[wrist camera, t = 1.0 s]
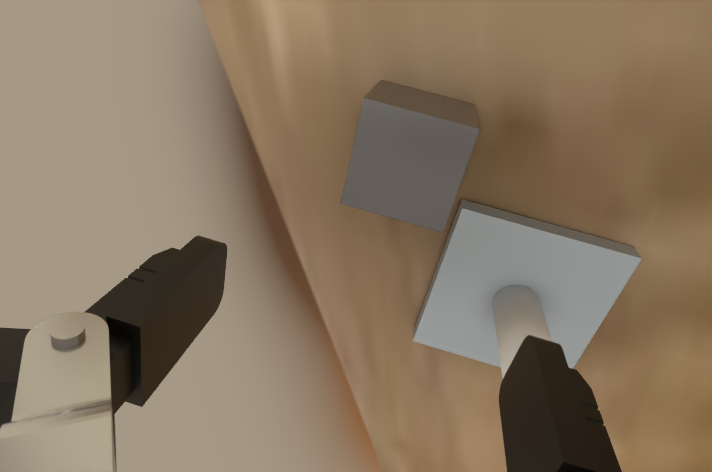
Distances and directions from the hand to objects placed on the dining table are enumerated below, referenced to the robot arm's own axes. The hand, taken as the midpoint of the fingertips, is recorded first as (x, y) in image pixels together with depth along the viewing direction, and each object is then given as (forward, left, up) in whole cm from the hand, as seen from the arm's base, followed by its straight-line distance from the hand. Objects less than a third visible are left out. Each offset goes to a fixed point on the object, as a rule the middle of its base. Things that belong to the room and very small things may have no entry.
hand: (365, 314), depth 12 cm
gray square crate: (0, 0, -18) cm, 18 cm away
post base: (-9, +8, -18) cm, 22 cm away
